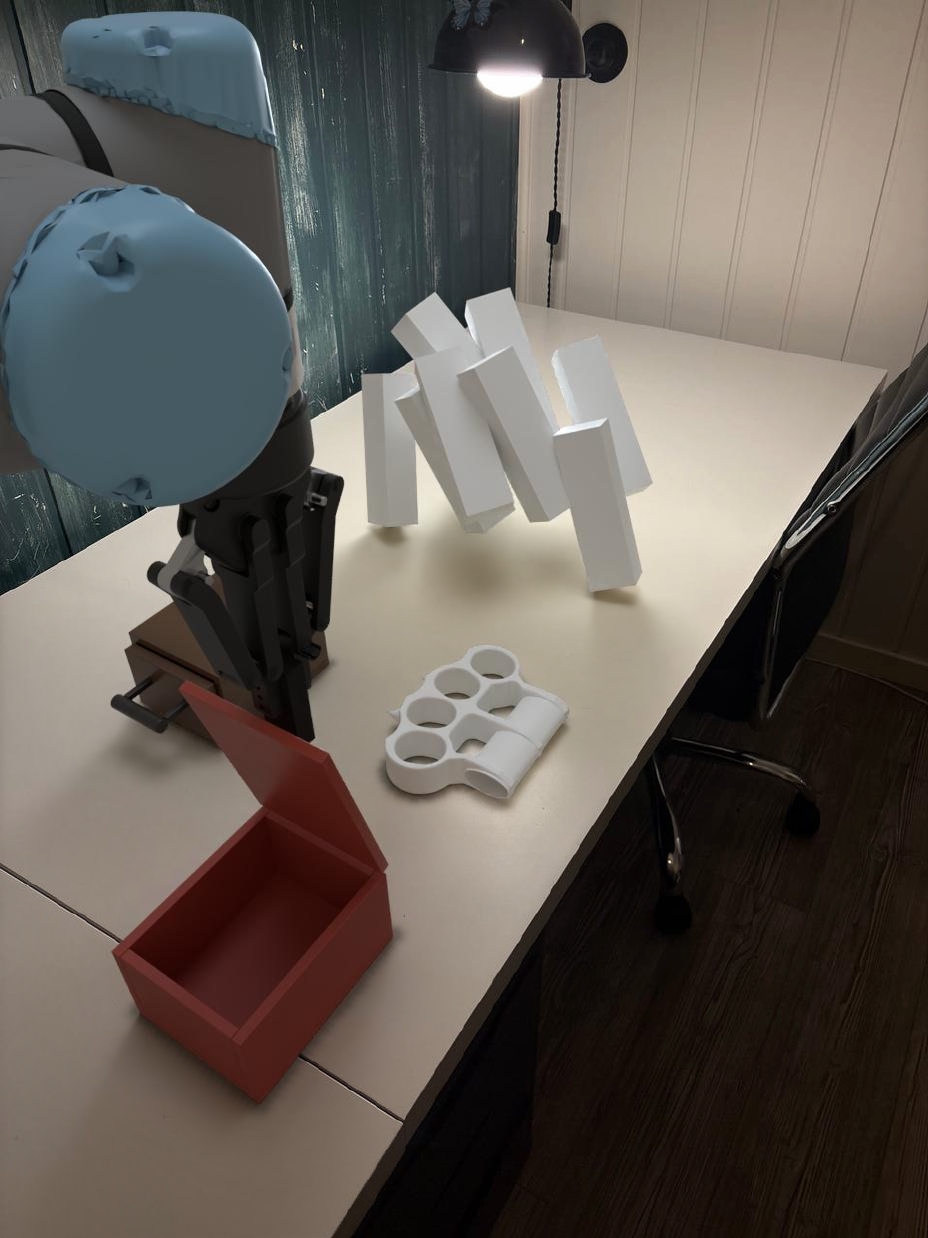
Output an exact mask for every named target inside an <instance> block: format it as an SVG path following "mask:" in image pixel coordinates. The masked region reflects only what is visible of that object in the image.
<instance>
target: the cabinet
mask: <svg viewBox="0 0 928 1238" xmlns="http://www.w3.org/2000/svg"><path fill="white" fill-rule="evenodd" d="M210 575H211V576H213V583H212V585H211V586H210V587H211V588H212V589H214V590H215V591H216V593H217V594H218V595H219V596H220V598H221V600H222V601H223V603H224V605H225V607H226V609H227V605H226V601H225V596H224V591H223V587H222V582H221V579H220V577H219V576H218V575H217V574H216V573H215V572H214V573H213V574H210ZM306 604H307V605H308V606H310V607H312V603H311V602H309V601H307V602H306ZM227 611H228V610H227ZM128 636H129V639H130V642H131V645H132V644H133V643H135V644H137V645H139V646H141V647H143V648H145V649H147V650H149V651H151V652H153V653H155V652H154V651H156V652H158V653H160V654H162V655H164V656H166V657H168V658H170V659H172V660H174V661H176V662H178V663H180V664H182V665H184V666H186V667H188V668H189V669H191V670H193V671H195V672H197V673H199V674H201V675H203V676H205V677H207V678H209V679H211V680H213V681H214V683H215V687H216V691H217V695H218V697H220V698H222V699H224V700H226V701H228V702H230V703H232V704H234V705H236V706H238V707H240V708H242V709H244V710H246V711H248V712H250V713H252V714H253V715H255V716H257V717H259V718H261V719H263V720H265V717H264V714H263V713H261V712H259V711H257V709H256V708H255V707H254V703H253V699H252V694H251V691H248V690H246V689H244V688H242V687H240V686H238V685H236V684H234V683H232V682H230V681H228V680H226V679H224V678H222V677H220V676H218V675H217V674H216V673H215V671H214V670H213V668H212V666H211V665H210V663H209V661H208V659H207V658H206V656H205V654H204V653H203V651H202V649H201V647H200V646H199V644H198V642H197V641H196V639H195V637H194V636H193V634H192V632H191V630H190V629H189V627H188V625H187V624H186V622H185V620H184V618H183V617H182V615H181V613H180V612H179V610H178V608H177V606H176V605H175V603H174V601H173V600H172V601H171V602H170V603H169V604H167V605H166V606H164V607H163V608H161V609H160V610H159V611H157V612H155V613H154V614H153V615H151V616H150V617H149V618H147V619H146V620H143V622H141V623H139V624H138V625H137V626H136V627H134V628H132V629H131V630H130V631H128ZM312 642H314V643H316V644H318V645H320V646H322V651H321V654H320V656H319V657H318V658H317V659H316V660H315V661H310V660H309V662H310V669H311V675H312V679H314V678H315V677H316V676H317V675H319V673H321V671H323V670H324V669H325V668H326V667H327V666H328V665H330V661H329V653H328V646H327V639H326V630H325V631H323V632H319V631H316V632H315V634H314V635H313V637H312Z"/></svg>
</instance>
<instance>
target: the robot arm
mask: <svg viewBox="0 0 928 1238" xmlns="http://www.w3.org/2000/svg"><path fill="white" fill-rule="evenodd" d="M60 48H61V55H62V62H63V63H62V64H63V68H62V70H61V75H62V80H63V83H64V84H65V85H60V86H59V85H58V86H55V87H49V88H47V89H46V90H44V91H43V92H35V93H30V94H28V95H26V96H15V97H7V98H0V477H3V476H9V475H15V474H21V473H26V472H31V471H37V470H43V469H45V470H46V471H47V472H48V473H50V474H54V475H58V477H60V478H61V479H62V480H64V481H65V482H66V483H67V484H69V485H71V486H73V487H76V488H79V489H82V490H87V491H88V492H90V493H93V494H96V495H98V496H101V497H102V498H105V499H108V500H110V501H112V502H116V503H122V504H126V505H131V506H143V507H147V508H164V507H165V508H166V507H172V506H178V514H177V520H176V529H177V533H178V535H179V537H180V541H179V542H178V544H177V546H176V547H175V549H174V551H173V553H172V554H171V556H170V558H169V559H168V561H167V563H166V562H164V561H162V560H155V561H154V562H152V563H151V564H150V565H149V566H148V568H147V571H146V579H147V581H148V582H149V583H150V584H152V585H153V586H155V587H157V588H158V589H159V590H161V591H163V592H164V593H165V594H167V595H169V596H170V598H171V600H172V602H173V601H174V603H175V605H176V606H177V608H178V610H179V612H180V613H181V615H182V617H183V618H184V620H185V622H186V624H187V625H188V627H189V629H190V630H191V632H192V634H193V636H194V637H195V639H196V641H197V642H198V644H199V646H200V647H201V649H202V651H203V653H204V654H205V656H206V658H207V659H208V661H209V663H210V665H211V666H212V668H213V670H214V671H215V673H216V674H217V675H218V676H220V677H222V678H224V679H226V680H228V681H230V682H232V683H234V684H236V685H238V686H240V687H242V688H244V689H246V690H248V691H251V694H252V699H253V703H254V707H255V708H256V709H257V711H259V712H261V713H263V714H264V717H265V721H267V722H269V723H271V724H273V725H275V726H277V727H279V728H281V729H283V730H285V731H287V732H289V733H291V734H293V735H294V736H296V737H298V738H300V739H302V740H304V741H306V742H308V743H310V744H311V743H312V742H313V741H314V740H315V739H316V734H315V728H314V722H313V715H312V709H311V703H310V697H309V690H310V689H311V688H312V684H313V683H312V682H313V678H312V675H311V669H310V662H309V660H310V661H315V660H316V659H317V658H318V657H319V656H320V654H321V651H322V646H320V645H318V644H316V643H314V642H312V637H313V635H314V634H315V632H316V631H319V632H323V631H325V632H326V630H327V629H328V628H329V625H330V623H331V622H330V621H331V613H332V612H331V611H332V594H333V593H332V592H333V575H334V557H335V556H334V555H335V542H336V541H335V539H336V521H337V513H338V510H339V506H340V502H341V499H342V495H343V491H344V488H345V479H344V478H343V477H344V476H341V475H339V474H337V473H333V472H330V471H327V470H324V469H321V468H318V467H316V466H312V463H313V460H314V458H315V445H314V437H313V428H312V422H311V414H310V413H311V412H310V405H309V398H308V395H307V393H306V392H305V390H304V389H303V388H301V387H302V385H303V384H304V382H305V381H304V380H305V379H304V378H305V376H304V375H305V374H304V366H303V365H304V364H303V357H302V350H301V342H300V335H299V328H298V327H299V326H298V320H297V313H296V304H295V295H294V290H293V278H292V276H293V275H292V268H291V261H290V252H289V244H288V236H287V235H288V234H287V229H286V228H287V226H286V218H285V210H284V209H285V208H284V201H283V194H282V186H281V176H280V168H279V167H280V166H279V160H278V150H277V149H279V148H280V145H279V137H278V135H277V133H276V127H275V122H274V118H273V112H272V107H271V101H270V94H269V89H268V84H267V79H266V76H265V74H264V70H263V65H262V59H261V53H260V50H259V47H258V44H257V41H256V39H255V37H254V36H253V34H252V33H251V31H250V30H249V29H248V28H247V27H246V26H245V25H244V24H242V22H240V21H239V20H237V19H236V18H233V17H232V16H228V15H225V14H219V13H215V12H214V13H213V12H203V11H147V12H146V11H145V12H129V13H117V14H107V15H103V16H100V17H96V18H92V17H91V18H81V19H78V20H76V21H73V22H70V23H69V24H68V25H67V26H66V27H65V28H64V29H63V32H62V34H61V38H60ZM205 557H206V558H208V559H209V560H210V563H211V567H212V568H211V569H212V571H213V572H214V573H216V574H217V575H218V576H219V577H220V579H221V582H222V587H223V591H224V596H225V601H226V605H227V609H226V607H225V605H224V603H223V601H222V600H221V598H220V596H219V595H218V594H217V593H216V591H215V590H214V589H212V588H211V587H210V586H211V585H212V583H213V576H211V575H212V574H210V573H209V571H208V570H209V569H208V567H206V565H205V561H204V560H205ZM307 601H309V602H311V603H312V607H310V606H308V605H307V604H306V602H307ZM227 610H228V611H227Z"/></svg>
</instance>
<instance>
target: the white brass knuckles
mask: <svg viewBox="0 0 928 1238" xmlns="http://www.w3.org/2000/svg"><path fill="white" fill-rule="evenodd" d="M520 663H521V662H520V661H519V658H518V657H517V656H516V655H515V653H513V652H512V651H510V650H508V649H507V648H505V647H503V646H499V645H492V644H482V645H476V646H473V647H470V648H467V650H466V652H465V654H464V655H463V656H462V657H461V658H460V659H459V660H457V661H455V662H453V663H450V664H446V665H440V666H439V667H437V668H436V669H434V670H432V671H431V672H429V673H428V674H426V675H421V677H422V679H423V684H422V685H421V686H420V687H419V688H418V689H417V690H416V691H415V692H413V693H411V694H409V695H406V696H405V698H404V700H403V702H402V704H401V706H400V708H397V709H393V710H391V711H387V712H386V714H388V715H389V716H390V717H391V718H392V719H394V720H395V721H396V722H397V723H398V726H397V728H396V729H395V730H394V731H393V733H391V734H390V735H389V736H387V737H386V738H385V740H384V755H385V766H386V773H387V776H388V778H389V780H390V781H391V783H392V784H393V785H394V786H395V787H396V788H398V789H400V790H401V791H403V792H406V793H409V794H414V795H427V794H433V793H436V792H439V791H441V790H442V789H444V788H446V787H447V786H449V785H458V784H459V785H460V784H465V785H466V786H468V787H471V788H473V789H475V790H477V791H479V792H481V793H483V794H485V795H487V796H489V797H492V798H495V799H503V800H505V799H508V798H509V797H512V795H514V793H515V789H516V787H517V785H519V783H520V781H521V780H522V779H523V778H524V776H525V775H526V774H527V772H528V770H529V769H530V768H531V767H532V765H533V764H534V762H536V760H537V758H540V757H541V756H542V754H543V750H544V749H545V747H547V745H548V743H549V742H550V741H551V739H552V738H553V736H554V735H555V734H556V733H557V732H558V730H559V729H560V727H561V726H562V724H563V723H565V722H567V720H568V719H569V714H570V708H569V706H568V704H567V703H565V702H564V701H563V700H562V699H561V698H559V697H558V696H557V695H555V694H553V693H551V692H549V691H546V690H543V689H541V688H539V687H537V686H534V685H531V684H529V683H526V682H524V680H523V679H522V678H521V672H522V671H521V664H520ZM484 675H497V676H499V677H502V678H497V679H495V678H494V679H493V678H488V677H485V676H484ZM455 693H456V694H463V695H466V696H468V697H469V698H463V699H454V698H450V697H449V696H446V695H449V694H455ZM506 707H514V708H513V709H512V711H511V712H510V713H509V715H508V716H507V717H506V718H505V719H504V718H502V717H499V716H497V715H495V714H492V713H490V711H491V710H493V709H501V708H506ZM424 723H435V724H442V725H445V726H442V727H435V728H432V727H426V726H421V724H424ZM471 739H474V740H477V741H479V742H482V743H484V746H483V747H482V749H481V750H480V751H479V752H478V753H477V755H474V754H471V753H469V752H463V753H459V752H457V751H458V750H459V749H460V747H461V746H462V745H463V744H464V742H466V741H467V740H471ZM412 757H413V758H414V757H426V758H431V759H434V760H435V759H436V760H437V761H434V762H432V763H428V764H421V763H420V764H419V763H414V762H409V761H405V760H407V759H409V758H412Z"/></svg>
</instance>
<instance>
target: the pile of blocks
mask: <svg viewBox="0 0 928 1238" xmlns="http://www.w3.org/2000/svg"><path fill="white" fill-rule="evenodd" d="M465 303H466V304H465V310H464V318H465V321H466V324H467V327H468V330H469V332H470V333H469V332H468V330H466V328H465V327H464V326H463V324H462V323H460V321H459V320H458V319H457V317H456V315H454V313H453V312H452V311H451V310H450V309H449V307H448V306H447V305H446V303H445V302H444V301H443V300H442V299H441V297H440V295H438V293H436V291H434V292H433V293H431V294H430V295H428V297H426V298H424V299H423V300H422V301H421V302H419V303H418V304H417V305H415V306H414V307H413V308H411V309H410V310H409V311H407V312H405V314H404V315H403V316H402V317H401V318H400V319H399V321H397V323H396V325H394V326H393V328H392V329H391V330H390V333H391V334H392V335H393V336H394V338H395V339H396V340H397V341H398V342H399V344H400V345H401V346H402V348H403V349H404V350H405V351H406V352H407V354H408V355H409V356H410V357H411V358H412V360H413V361H414V365H413V366H414V373H413V372H406V373H405V372H403V373H399V372H397V373H396V372H395V373H393V372H392V373H361V375H360V378H361V380H360V381H361V398H362V399H361V400H362V401H361V402H362V403H361V404H362V419H363V421H362V422H363V423H362V424H363V445H364V467H365V469H364V470H365V485H366V486H365V487H366V489H365V490H366V510H367V511H366V512H367V523H369V524H372V525H377V526H380V527H386V528H394V527H396V528H397V527H404V526H412V525H418V524H419V514H418V513H419V511H418V485H417V484H418V483H417V482H418V480H417V479H418V477H417V476H418V475H417V450H416V448H417V447H416V445H417V446H418V448H419V450H420V452H421V453H422V455H423V457H424V459H425V461H426V462H427V464H428V466H429V468H430V470H431V472H432V473H433V475H434V477H435V479H436V481H437V483H438V485H439V486H440V488H441V490H442V492H443V493H444V495H445V498H446V499H447V501H448V503H449V504H450V506H451V508H452V511H453V512H454V513H455V516H456V517H457V519H458V521H459V523H460V525H461V527H462V528H463V530H464V533H465V534H486V533H487V532H488V531H490V530H491V529H492V528H494V527H495V526H496V525H498V524H499V523H500V522H501V521H503V520H504V519H505V518H507V517H508V516H509V515H510V514H512V513H513V512H514V511H516V507H515V505H514V504H515V499H514V497H513V493H512V490H513V492H514V494H515V496H516V498H517V500H518V502H519V504H520V506H521V509H522V510H523V512H524V514H525V516H526V518H527V520H528V522H529V523H531V524H532V523H546V522H547V523H549V522H552V520H554V519H556V518H557V517H558V516H560V515H561V514H563V513H564V512H566V511H567V510H570V516H571V519H572V523H573V527H574V531H575V535H576V540H577V543H578V549H579V552H580V555H581V560H582V564H583V568H584V573H585V576H586V580H587V585H588V589H589V592H591V593H592V592H599V591H600V592H601V591H606V590H613V589H614V590H615V589H620V588H627V587H628V588H629V587H635V586H637V584H638V582H639V580H640V578H641V576H642V574H643V569H642V564H641V560H640V555H639V550H638V547H637V546H638V545H637V541H636V537H635V532H634V528H633V522H632V519H631V514H630V510H629V505H628V502H627V497H630V496H634V495H636V494H639V493H643V492H645V490H647V489H648V488H649V487H650V486H651V485H652V484H653V483H654V482H653V480H652V476H651V474H650V471H649V468H648V465H647V463H646V462H647V461H646V460H645V457H644V455H643V451H642V449H641V445H640V443H639V440H638V438H637V434H636V432H635V429H634V427H633V424H632V421H631V418H630V415H629V411H628V409H627V407H626V404H625V401H624V399H623V396H622V392H621V390H620V387H619V383H618V381H617V378H616V376H615V373H614V370H613V367H612V364H611V362H610V359H609V356H608V353H607V350H606V348H605V346H604V342H603V340H602V337H601V334H597V335H594V336H591V337H588V338H585V339H581V340H577V341H575V342H573V343H572V342H571V343H568V344H566V345H565V344H564V345H563V346H560V347H559V346H558V347H556V349H555V351H554V353H553V356H552V358H551V361H550V363H551V366H552V369H553V371H554V374H555V377H556V380H557V383H558V385H559V388H560V392H561V394H562V397H563V400H564V402H565V403H564V404H565V405H566V408H567V409H566V410H567V411H568V414H569V416H570V419H571V422H572V425H569V426H564V427H563V426H562V427H561V428H560V425H559V422H558V420H557V417H556V414H555V411H554V409H553V405H552V403H551V399H550V396H549V395H548V391H547V388H546V386H545V382H544V380H543V377H542V374H541V372H540V368H539V366H538V362H537V360H536V358H535V357H536V356H535V354H534V351H533V349H532V346H531V344H530V343H531V342H530V339H529V338H528V334H527V331H526V328H525V326H524V324H523V321H522V317H521V315H520V312H519V309H518V306H517V303H516V300H515V297H514V295H513V292H512V289H511V287H506V288H503V289H500V290H496V291H493V292H490V293H487V294H484V295H479V296H477V297H474V298H470V299H467V300H466V302H465ZM414 375H415V377H416V381H417V383H416V386H415V384H414V383H415V382H414ZM509 484H510V485H509ZM510 486H511V487H510ZM511 488H512V490H511Z"/></svg>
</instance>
